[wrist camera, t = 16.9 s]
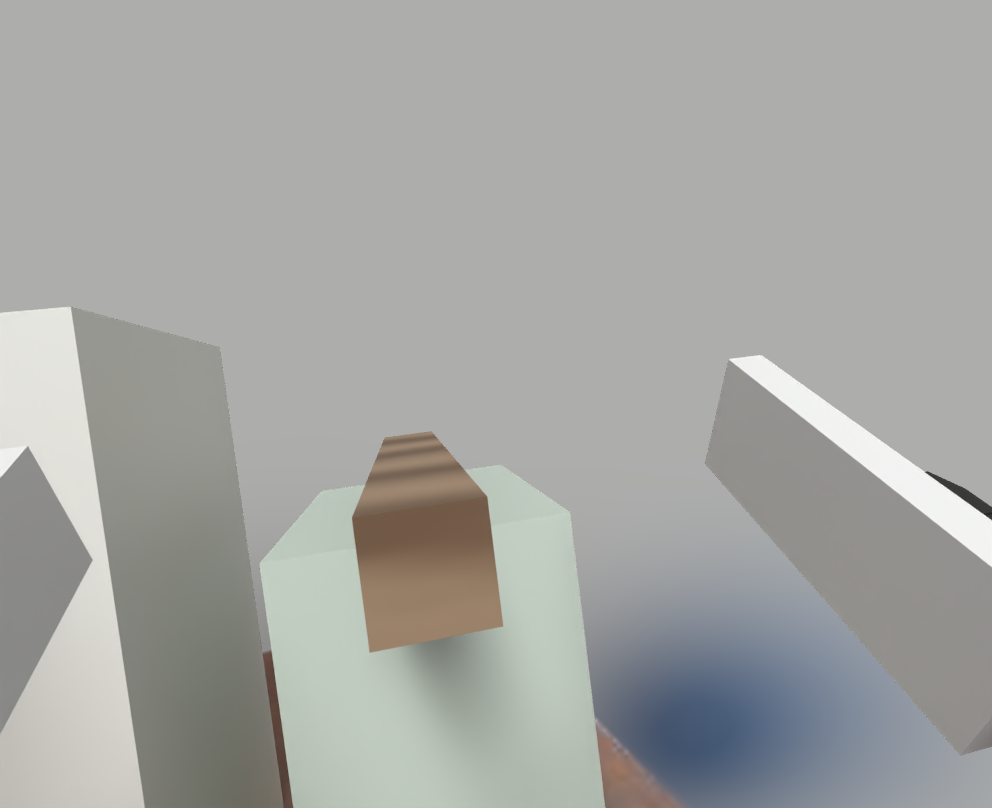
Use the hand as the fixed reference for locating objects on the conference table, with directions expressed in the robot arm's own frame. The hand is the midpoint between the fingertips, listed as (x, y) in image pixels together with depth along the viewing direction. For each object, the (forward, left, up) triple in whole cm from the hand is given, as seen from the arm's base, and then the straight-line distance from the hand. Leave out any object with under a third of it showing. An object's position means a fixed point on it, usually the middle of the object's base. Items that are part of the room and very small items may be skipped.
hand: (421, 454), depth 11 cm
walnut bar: (-7, +11, -4) cm, 14 cm away
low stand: (-9, +16, -24) cm, 31 cm away
